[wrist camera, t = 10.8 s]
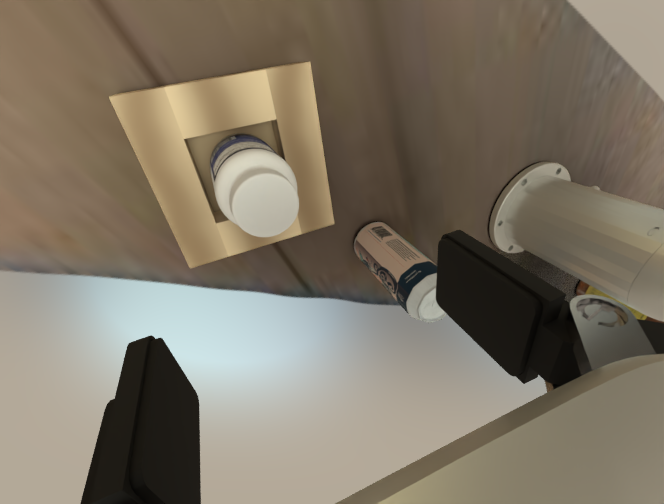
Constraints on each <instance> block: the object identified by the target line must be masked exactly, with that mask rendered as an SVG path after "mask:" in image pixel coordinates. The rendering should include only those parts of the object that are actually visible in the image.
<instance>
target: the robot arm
mask: <svg viewBox="0 0 664 504" xmlns="http://www.w3.org/2000/svg"><path fill="white" fill-rule="evenodd" d="M489 233H490V238H491V240H492V242H493V244H494V245H495V246H496V247H497V248H499V249H500V250H502V251H504V252H507V253H518V252H522V251H524V250H526V251H528V252H530V253H532V254H534V255H536V256H537V257H539V258H541V259H543V260H545V261H547V262H548V263H550V264H552V265H554V266H556V267H558V268H559V269H561V270H563V271H565V272H567V273H569V274H570V275H572V276H574V277H576V278H578V279H580V280H581V281H583V282H585V283H587V284H589V285H591V286H592V287H594V288H596V289H598V290H600V291H602V292H603V293H605V294H607V295H609V296H611V297H613V298H614V299H616V300H618V301H620V302H622V303H624V304H625V305H627V306H629V307H631V308H633V309H635V310H637V311H639V312H640V313H642V314H644V315H646V316H649V317H651V318H654V319H656V320H659V321H663V322H664V209H660V208H657V207H654V206H650V205H647V204H644V203H640V202H637V201H634V200H630V199H627V198H624V197H620V196H617V195H614V194H610V193H607V192H604V191H600V189H599V187H597V186H591V187H587V186H584V185H580V184H577V183H574V182H571V179H570V175H569V173H568V171H567V169H566V168H565V167H564V166H562V165H560V164H558V163H553V162H549V161H547V162H540V163H536V164H534V165H532V166H530V167H528V168H526V169H525V170H523V171H522V172H521V173H519V174H518V175H517V176H516V177H515V178H514V179H513V180H512V181H511V182H510V183H509V184H508V185H507V187H506V188H505V189H504V190H503V192H502V193H501V195H500V197H499V198H498V200H497V202H496V204H495V206H494V209H493V212H492V214H491V219H490V224H489ZM565 296H566V294H565V293H563V292H562V291H560V290H558V289H557V288H555V287H553V286H552V285H550V284H548V283H547V282H545V281H543V280H542V279H540V278H538V277H537V276H535V275H534V274H532V273H530V272H529V271H527V270H525V269H524V268H522V267H520V266H519V265H517V264H515V263H514V262H512V261H510V260H509V259H507V258H506V257H504V256H502V255H501V254H499V253H497V252H496V251H494V250H492V249H491V248H489V247H487V246H486V245H484V244H482V243H481V242H479V241H478V240H476V239H474V238H473V237H471V236H469V235H468V234H466V233H464V232H463V231H461V230H456V231H454V232H451V233H448V234H445V235H443V236H442V238H441V240H440V241H439V244H438V261H437V280H436V301H437V304H438V305H439V307H440V308H441V309H442V310H443V311H444V312H445V313H447V314H448V315H449V316H450V317H451V318H452V319H453V320H454V321H455V322H456V323H457V324H458V325H459V326H460V327H461V328H462V329H463V330H464V331H465V332H466V333H467V334H468V335H469V336H470V337H471V338H472V339H473V340H474V341H475V342H476V343H477V344H478V345H479V346H481V347H482V348H483V349H484V350H485V351H486V352H487V353H488V354H489V355H490V356H491V357H492V358H493V359H494V360H495V361H496V362H497V363H498V364H499V365H500V366H501V367H502V368H503V369H504V370H505V371H506V372H507V373H509V374H510V375H512V376H516V377H517V378H518V379H519V380H520V381H521V382H522V383H524V384H525V383H527V382H529V381H531V380H533V379H535V378H537V377H538V374H539V375H540V376H541V377H542V378H543V379H544V380H545V384H546V389H547V393H546V394H544V395H542V396H540V397H538V398H536V399H534V400H533V401H531V402H528V403H527V404H525V405H523V406H521V407H519V408H517V409H515V410H513V411H511V412H509V413H507V414H505V415H503V416H501V417H500V418H498V419H496V420H494V421H492V422H490V423H488V424H486V425H484V426H482V427H480V428H478V429H476V430H475V431H473V432H471V433H469V434H467V435H465V436H463V437H461V438H459V439H457V440H455V441H453V442H451V443H450V444H448V445H446V446H444V447H442V448H440V449H438V450H436V451H434V452H432V453H430V454H429V455H427V456H425V457H423V458H421V459H419V460H417V461H415V462H413V463H411V464H410V465H408V466H406V467H404V468H402V469H400V470H398V471H396V472H395V473H392V474H391V475H389V476H387V477H385V478H383V479H381V480H379V481H377V482H375V483H373V484H372V485H370V486H368V487H366V488H364V489H362V490H360V491H358V492H356V493H355V494H353V495H351V496H349V497H347V498H345V499H343V500H341V501H340V502H338V503H336V504H664V323H659V322H653V321H647V320H640V319H636V317H635V315H634V314H633V313H632V312H631V311H630V310H629V309H628V308H627V307H625V306H624V305H623V304H621V303H619V302H617V301H615V300H613V299H610V298H607V297H604V296H598V295H580V296H576V297H575V298H573V299H572V300H571V302H570V303H569V302H567V301H565V300H564V299H565ZM199 434H200V430H199V400H198V396H197V393H196V391H195V390H194V388H193V387H192V385H191V383H190V382H189V380H188V379H187V377H186V375H185V374H184V372H183V371H182V369H181V367H180V366H179V364H178V363H177V361H176V360H175V358H174V357H173V355H172V353H171V352H170V350H169V348H168V347H167V345H166V344H165V342H164V341H163V339H162V338H158V339H155V338H154V337H153V336H148V337H145V338H142V339H139V340H136V341H134V342H131V343H129V345H128V346H127V350H126V354H125V358H124V363H123V367H122V371H121V375H120V379H119V383H118V387H117V391H116V396H115V399H113V400H110V402H109V403H108V404H107V406H106V409H105V412H104V416H103V419H102V423H101V427H100V431H99V435H98V439H97V442H96V447H95V450H94V454H93V458H92V462H91V465H90V469H89V473H88V477H87V481H86V485H85V488H84V492H83V496H82V500H81V504H201V496H200V435H199Z"/></svg>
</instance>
